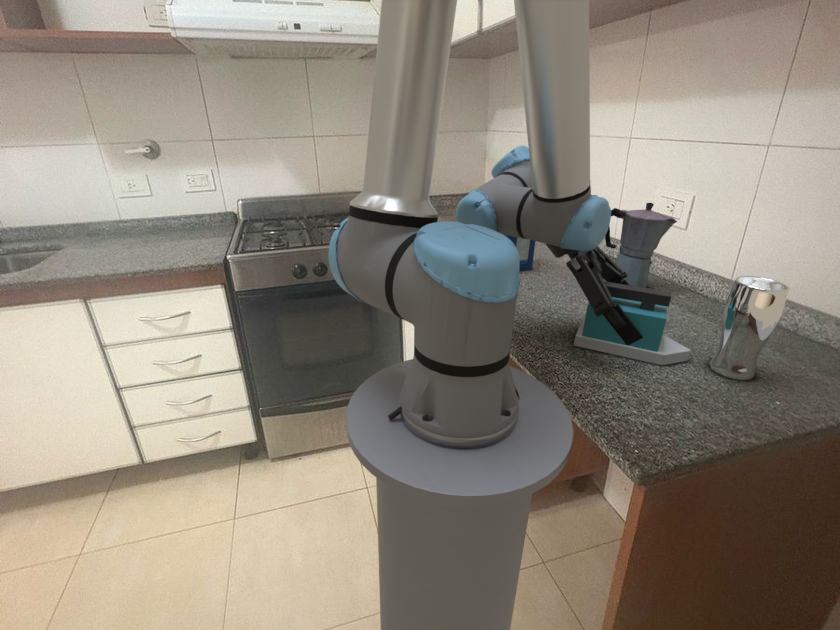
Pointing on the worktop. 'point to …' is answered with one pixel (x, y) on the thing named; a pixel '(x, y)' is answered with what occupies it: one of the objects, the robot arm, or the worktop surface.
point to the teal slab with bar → (648, 318)
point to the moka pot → (639, 241)
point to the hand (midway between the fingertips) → (638, 325)
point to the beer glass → (748, 325)
